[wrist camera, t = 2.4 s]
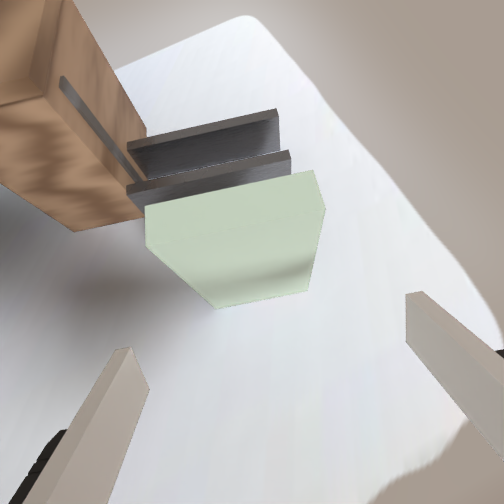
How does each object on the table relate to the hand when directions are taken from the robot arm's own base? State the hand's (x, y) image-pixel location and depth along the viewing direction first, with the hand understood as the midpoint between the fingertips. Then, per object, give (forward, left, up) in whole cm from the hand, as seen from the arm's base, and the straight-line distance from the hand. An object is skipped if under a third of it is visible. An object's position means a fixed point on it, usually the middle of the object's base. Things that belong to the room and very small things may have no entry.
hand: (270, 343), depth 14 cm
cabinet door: (-4, +5, -13) cm, 14 cm away
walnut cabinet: (-27, +11, -13) cm, 32 cm away
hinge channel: (-15, +15, -13) cm, 24 cm away
